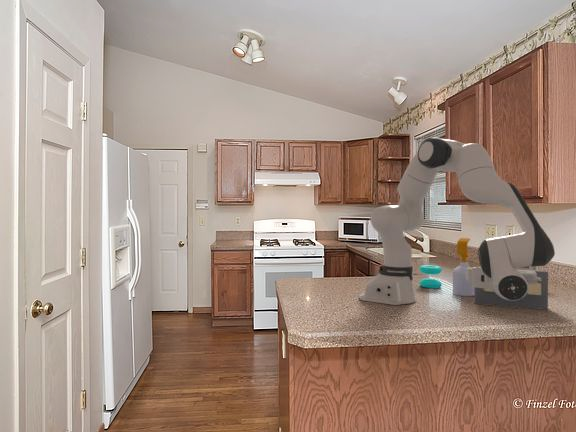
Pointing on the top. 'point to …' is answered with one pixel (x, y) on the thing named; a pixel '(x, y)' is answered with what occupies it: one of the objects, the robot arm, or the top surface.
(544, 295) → the panel
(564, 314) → the top surface
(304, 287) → the top surface
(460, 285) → the soap bottle
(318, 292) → the top surface
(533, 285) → the button right
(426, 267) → the donuts
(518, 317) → the top surface
